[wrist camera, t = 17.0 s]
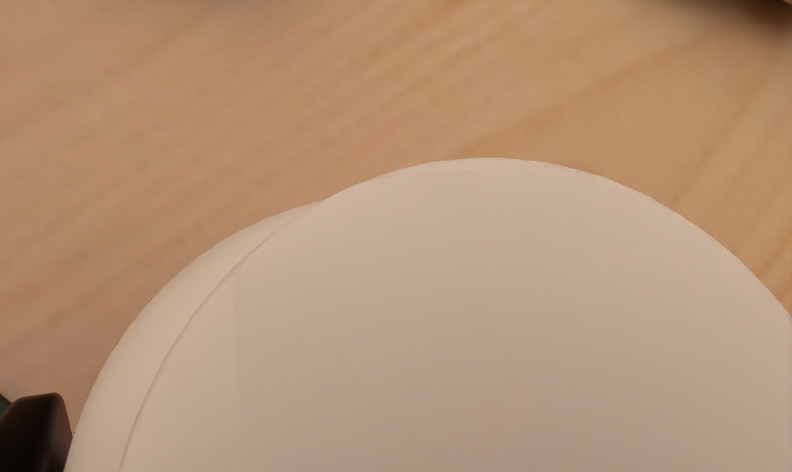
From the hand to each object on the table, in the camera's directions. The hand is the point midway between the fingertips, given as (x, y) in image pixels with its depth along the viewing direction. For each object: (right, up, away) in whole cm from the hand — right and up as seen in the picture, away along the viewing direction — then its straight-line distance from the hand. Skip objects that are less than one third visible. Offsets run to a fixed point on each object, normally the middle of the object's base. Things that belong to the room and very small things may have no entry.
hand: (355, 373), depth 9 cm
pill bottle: (-1, -3, +6) cm, 7 cm away
